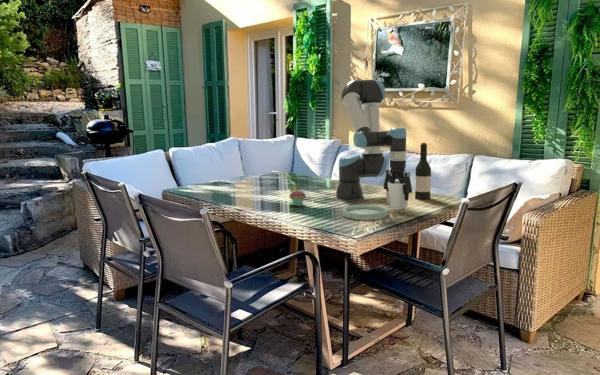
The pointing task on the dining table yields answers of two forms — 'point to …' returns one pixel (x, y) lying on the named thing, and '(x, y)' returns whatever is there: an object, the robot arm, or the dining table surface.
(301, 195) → the cupcake
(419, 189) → the wine bottle
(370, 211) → the saucer
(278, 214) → the dining table surface
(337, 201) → the dining table surface
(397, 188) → the foam cup
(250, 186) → the dining table surface
